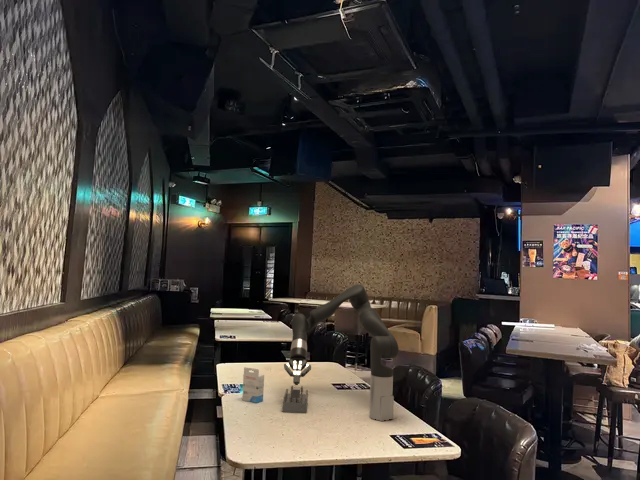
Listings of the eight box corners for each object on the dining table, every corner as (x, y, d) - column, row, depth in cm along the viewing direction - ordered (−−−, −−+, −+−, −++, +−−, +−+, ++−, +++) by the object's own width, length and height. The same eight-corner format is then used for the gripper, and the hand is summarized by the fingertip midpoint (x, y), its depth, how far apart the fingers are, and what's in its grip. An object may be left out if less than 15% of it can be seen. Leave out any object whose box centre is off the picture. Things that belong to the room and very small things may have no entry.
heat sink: (285, 402, 208) (286, 382, 209) (307, 403, 208) (308, 383, 209) (282, 412, 193) (283, 390, 194) (306, 413, 193) (307, 391, 194)
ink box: (263, 401, 209) (265, 367, 210) (257, 403, 204) (259, 369, 206) (248, 398, 213) (250, 365, 214) (241, 400, 208) (243, 366, 210)
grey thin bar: (293, 386, 207) (292, 391, 197) (300, 386, 207) (299, 391, 197) (293, 389, 207) (292, 394, 197) (300, 389, 207) (299, 394, 197)
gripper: (312, 356, 218) (311, 389, 205) (284, 355, 219) (281, 388, 205) (313, 346, 214) (311, 379, 200) (284, 345, 214) (280, 378, 200)
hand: (296, 384), depth 203 cm, fingers closed
